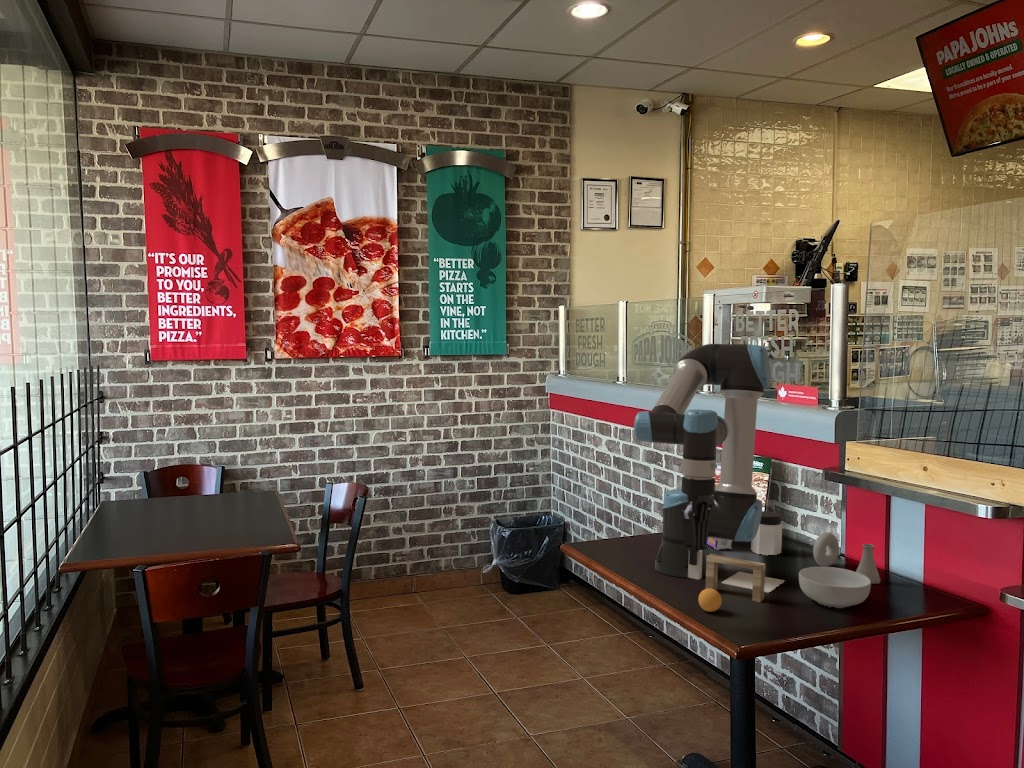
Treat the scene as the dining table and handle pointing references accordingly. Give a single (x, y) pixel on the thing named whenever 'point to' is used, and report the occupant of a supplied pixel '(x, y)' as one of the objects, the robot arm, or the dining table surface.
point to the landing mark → (751, 581)
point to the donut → (820, 548)
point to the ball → (710, 600)
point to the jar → (768, 535)
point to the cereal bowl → (834, 586)
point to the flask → (868, 564)
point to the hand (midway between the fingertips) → (694, 577)
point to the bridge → (756, 566)
